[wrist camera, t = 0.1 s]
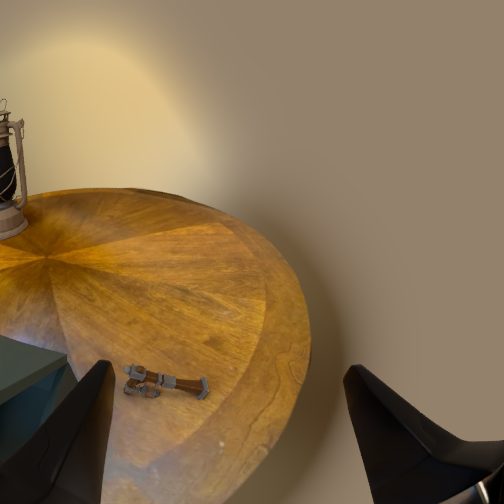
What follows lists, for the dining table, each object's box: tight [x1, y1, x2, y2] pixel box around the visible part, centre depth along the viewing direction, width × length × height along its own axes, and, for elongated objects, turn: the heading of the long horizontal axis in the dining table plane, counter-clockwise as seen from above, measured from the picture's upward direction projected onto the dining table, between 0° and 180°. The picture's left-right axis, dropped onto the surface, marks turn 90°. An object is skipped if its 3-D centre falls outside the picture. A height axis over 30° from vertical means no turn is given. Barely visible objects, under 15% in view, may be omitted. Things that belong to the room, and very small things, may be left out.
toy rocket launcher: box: [124, 364, 209, 400], centre depth 22 cm, size 2×8×4 cm, turn 106°
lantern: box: [0, 99, 28, 240], centre depth 36 cm, size 15×12×30 cm
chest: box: [0, 362, 78, 465], centre depth 12 cm, size 13×12×6 cm
